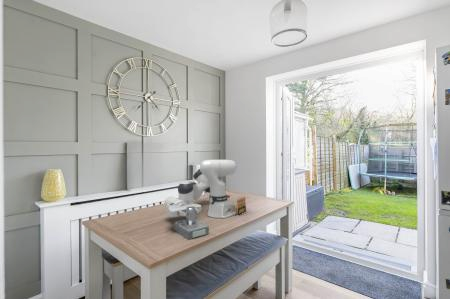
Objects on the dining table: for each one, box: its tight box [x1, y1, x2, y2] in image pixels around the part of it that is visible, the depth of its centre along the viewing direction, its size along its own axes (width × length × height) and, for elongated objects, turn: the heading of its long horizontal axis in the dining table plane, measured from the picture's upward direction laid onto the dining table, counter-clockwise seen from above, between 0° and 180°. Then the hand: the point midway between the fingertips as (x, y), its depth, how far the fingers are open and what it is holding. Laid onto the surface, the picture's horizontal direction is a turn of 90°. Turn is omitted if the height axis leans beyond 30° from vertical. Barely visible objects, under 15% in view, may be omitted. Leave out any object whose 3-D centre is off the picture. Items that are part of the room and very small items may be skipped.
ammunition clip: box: [235, 196, 247, 216], centre depth 168 cm, size 11×2×12 cm, turn 143°
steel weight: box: [185, 207, 196, 225], centre depth 133 cm, size 5×5×9 cm
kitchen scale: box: [172, 218, 210, 240], centre depth 133 cm, size 13×18×5 cm
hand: (191, 213), depth 132 cm, fingers open, 6 cm apart
